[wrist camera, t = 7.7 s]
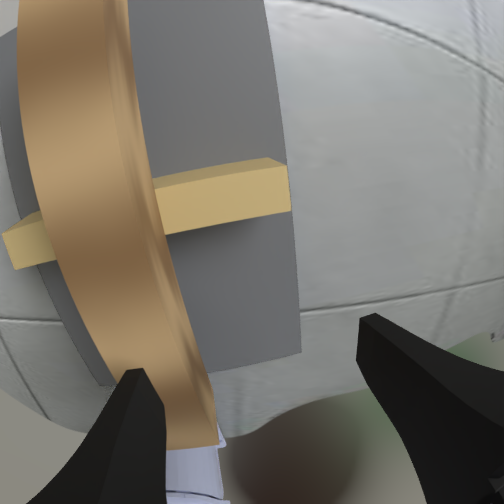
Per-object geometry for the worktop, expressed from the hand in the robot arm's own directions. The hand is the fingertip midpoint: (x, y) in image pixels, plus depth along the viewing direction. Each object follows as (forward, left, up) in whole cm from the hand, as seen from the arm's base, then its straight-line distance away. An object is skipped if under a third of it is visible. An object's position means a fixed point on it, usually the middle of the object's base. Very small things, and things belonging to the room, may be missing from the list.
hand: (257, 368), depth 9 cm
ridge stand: (+4, +4, -10) cm, 11 cm away
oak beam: (+4, +4, -5) cm, 8 cm away
